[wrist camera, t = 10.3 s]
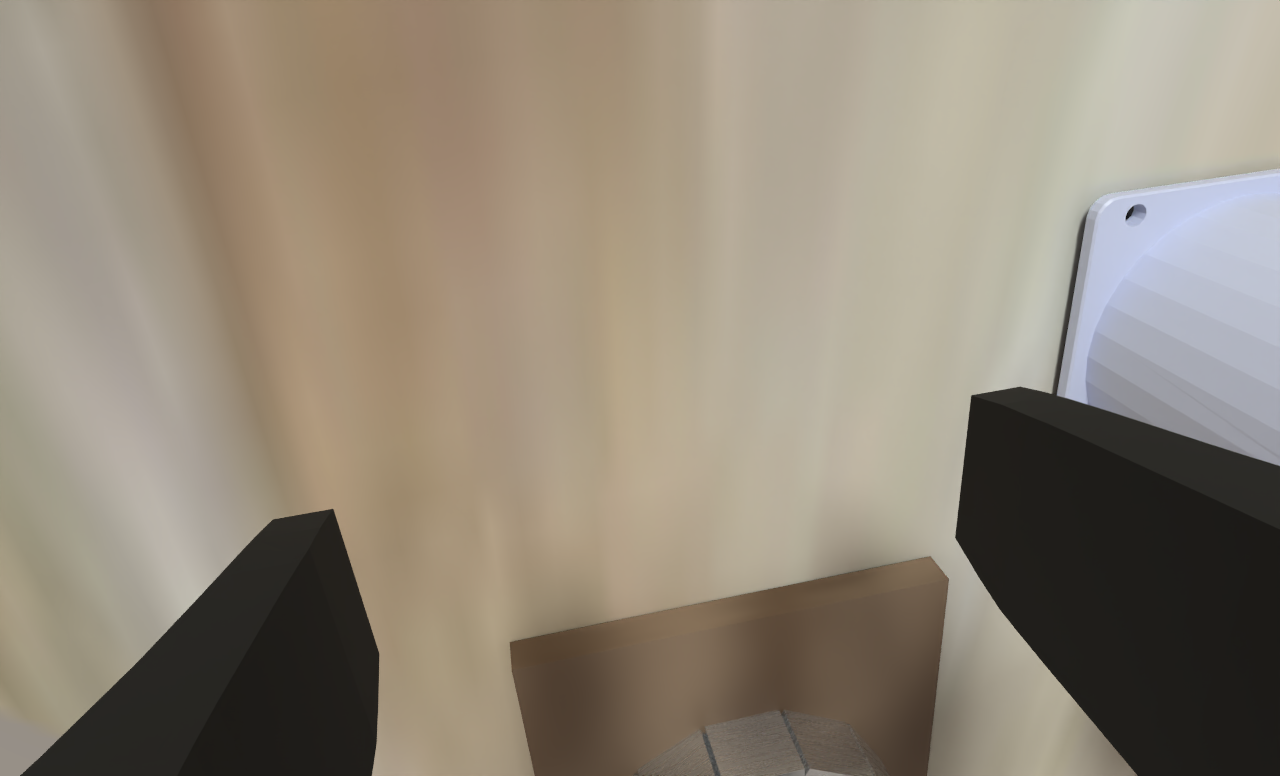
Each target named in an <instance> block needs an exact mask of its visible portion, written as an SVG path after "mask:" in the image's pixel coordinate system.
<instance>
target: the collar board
mask: <svg viewBox="0 0 1280 776" xmlns="http://www.w3.org/2000/svg"><path fill="white" fill-rule="evenodd" d="M948 582H949V579H948V577H947V576H946V575H945V574H944V573H943V571H942V570H941V569H940V568H939V566H938V565H937V564H936V563H935V561H934V560H933V559H932V558H931V557H925V558H920V559H916V560H911V561H906V562H901V563H896V564H891V565H886V566H881V567H876V568H872V569H867V570H862V571H857V572H852V573H847V574H842V575H837V576H832V577H827V578H823V579H818V580H813V581H808V582H803V583H798V584H793V585H788V586H783V587H778V588H774V589H769V590H764V591H759V592H754V593H749V594H744V595H739V596H734V597H729V598H725V599H720V600H715V601H710V602H705V603H700V604H695V605H690V606H685V607H680V608H676V609H671V610H666V611H661V612H656V613H651V614H646V615H641V616H636V617H631V618H627V619H622V620H617V621H612V622H607V623H602V624H597V625H592V626H587V627H582V628H578V629H573V630H568V631H563V632H558V633H553V634H548V635H543V636H538V637H533V638H529V639H524V640H519V641H514V642H510V651H511V665H512V673H513V678H514V682H515V687H516V691H517V696H518V701H519V705H520V710H521V714H522V719H523V723H524V728H525V733H526V737H527V742H528V746H529V751H530V755H531V760H532V764H533V769H534V774H535V776H927V770H928V761H929V752H930V743H931V734H932V725H933V716H934V707H935V698H936V689H937V680H938V671H939V662H940V653H941V644H942V635H943V627H944V618H945V609H946V600H947V591H948Z"/></svg>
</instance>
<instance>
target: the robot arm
mask: <svg viewBox="0 0 1280 776" xmlns="http://www.w3.org/2000/svg"><path fill="white" fill-rule="evenodd" d="M1132 206H1134V211H1133V213H1132V215H1131V216H1130V217H1129V219H1128V220H1126V218H1125V217H1126V214H1127V212H1128V210H1129V209H1130V208H1131V207H1132ZM955 538H956V540H957V541H958V543H959V545H960V546H961V548H962V550H963V551H964V553H965V555H966V556H967V558H968V560H969V561H970V563H971V565H972V566H973V568H974V570H975V571H976V573H977V575H978V577H979V578H980V580H981V581H982V583H983V584H984V586H985V587H986V589H987V590H988V592H989V593H990V595H991V597H992V598H993V600H994V601H995V603H996V604H997V606H998V607H999V609H1000V610H1001V611H1002V613H1003V614H1004V615H1005V616H1006V618H1007V619H1008V620H1009V621H1010V623H1011V624H1012V625H1013V626H1014V628H1015V629H1016V630H1017V631H1018V633H1019V634H1020V635H1021V636H1022V637H1023V639H1024V640H1025V641H1026V642H1027V643H1028V645H1029V646H1030V647H1031V648H1032V650H1033V651H1034V652H1035V653H1036V654H1037V656H1038V657H1039V658H1040V659H1041V661H1042V662H1043V663H1044V664H1045V665H1046V667H1047V668H1048V669H1049V670H1050V671H1051V673H1052V674H1053V675H1054V676H1055V677H1056V679H1057V680H1058V681H1059V682H1060V683H1061V684H1062V686H1063V687H1064V688H1065V689H1066V690H1067V692H1068V693H1069V694H1070V695H1071V696H1072V698H1073V699H1074V700H1075V701H1076V702H1077V704H1078V705H1079V706H1080V707H1081V708H1082V710H1083V711H1084V712H1085V713H1086V714H1087V716H1088V717H1089V718H1090V719H1091V720H1092V721H1093V723H1094V724H1095V725H1096V726H1097V727H1098V729H1099V730H1100V731H1101V732H1102V733H1103V735H1104V736H1105V737H1106V738H1107V739H1108V741H1109V742H1110V743H1111V744H1112V745H1113V747H1114V748H1115V749H1116V750H1117V751H1118V753H1119V754H1120V755H1121V756H1122V757H1123V758H1124V760H1125V761H1126V762H1127V763H1128V764H1129V766H1130V767H1131V768H1132V769H1133V770H1134V772H1135V773H1136V774H1137V775H1138V776H1280V169H1273V170H1266V171H1259V172H1253V173H1246V174H1239V175H1232V176H1225V177H1218V178H1212V179H1205V180H1198V181H1191V182H1184V183H1177V184H1171V185H1164V186H1157V187H1150V188H1143V189H1136V190H1130V191H1123V192H1116V193H1109V194H1107V195H1104V196H1102V197H1100V198H1099V199H1098V200H1096V201H1095V202H1094V204H1093V205H1092V206H1091V208H1090V209H1089V212H1088V215H1087V218H1086V224H1085V230H1084V236H1083V242H1082V248H1081V254H1080V260H1079V266H1078V272H1077V278H1076V284H1075V290H1074V296H1073V302H1072V308H1071V314H1070V319H1069V325H1068V331H1067V337H1066V343H1065V349H1064V355H1063V361H1062V367H1061V373H1060V379H1059V385H1058V391H1057V395H1053V394H1049V393H1045V392H1042V391H1037V390H1032V389H1028V388H1023V387H1016V388H1011V389H1005V390H999V391H994V392H988V393H983V394H977V395H971V404H970V412H969V421H968V430H967V439H966V448H965V457H964V465H963V474H962V483H961V492H960V501H959V510H958V518H957V527H956V536H955ZM378 687H379V652H378V648H377V645H376V642H375V639H374V636H373V633H372V630H371V626H370V623H369V620H368V617H367V614H366V611H365V608H364V604H363V601H362V598H361V595H360V592H359V589H358V586H357V582H356V579H355V576H354V573H353V570H352V567H351V563H350V560H349V557H348V554H347V551H346V548H345V545H344V541H343V538H342V535H341V532H340V529H339V526H338V523H337V519H336V516H335V513H334V510H333V509H330V510H324V511H319V512H313V513H308V514H302V515H296V516H291V517H285V518H279V519H274V520H272V521H271V522H270V523H269V524H268V525H267V526H266V527H265V528H264V529H263V530H262V531H261V532H260V533H259V534H258V535H257V536H256V537H255V538H254V539H253V540H252V541H251V542H250V543H249V544H248V545H247V546H246V547H245V548H244V549H243V550H242V552H241V553H240V554H239V555H238V556H237V557H236V558H235V559H234V560H233V561H232V562H231V563H230V564H229V566H228V567H227V568H226V569H225V570H224V571H223V572H222V573H221V574H220V575H219V576H218V577H217V579H216V580H215V581H214V582H213V583H212V584H211V585H210V586H209V587H208V588H207V589H206V590H205V591H204V593H203V594H202V595H201V596H200V597H199V598H198V599H197V600H196V601H195V602H194V603H193V604H192V605H191V606H190V607H189V609H188V610H187V611H186V612H185V613H184V614H183V615H182V616H181V617H180V618H179V619H178V620H177V621H176V622H175V623H174V624H173V625H172V626H171V628H170V629H169V630H168V631H167V632H166V633H165V634H164V635H163V636H162V637H161V638H160V639H159V640H158V641H157V642H156V643H155V644H154V645H153V647H152V648H151V649H150V650H149V651H148V652H147V653H146V654H145V655H144V656H143V657H142V658H141V659H140V660H139V661H138V662H137V663H136V664H135V665H134V666H133V667H132V668H131V669H130V670H129V671H128V672H127V673H126V674H125V675H124V676H123V677H122V678H121V679H120V680H119V681H118V682H117V683H116V684H115V685H114V686H113V687H112V688H111V689H110V690H109V691H108V692H107V693H106V694H105V695H104V696H103V697H102V698H100V699H99V700H98V701H97V702H96V703H95V704H94V705H93V706H92V707H91V708H90V709H89V710H88V711H87V712H86V713H85V714H84V715H83V716H82V717H81V718H80V719H79V720H78V721H77V722H76V723H75V724H74V725H73V726H72V727H71V728H70V729H69V730H68V731H67V732H66V733H65V734H64V735H63V736H61V737H60V738H59V739H58V740H57V741H56V742H55V743H54V744H53V745H52V746H51V747H50V748H49V749H48V750H47V751H46V752H45V753H44V754H43V755H42V756H41V757H40V758H39V759H38V760H37V761H36V762H34V764H32V765H31V766H30V767H29V768H28V769H27V770H26V771H25V772H24V773H23V774H21V775H20V776H372V770H373V764H374V757H375V750H376V742H377V718H378Z"/></svg>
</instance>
